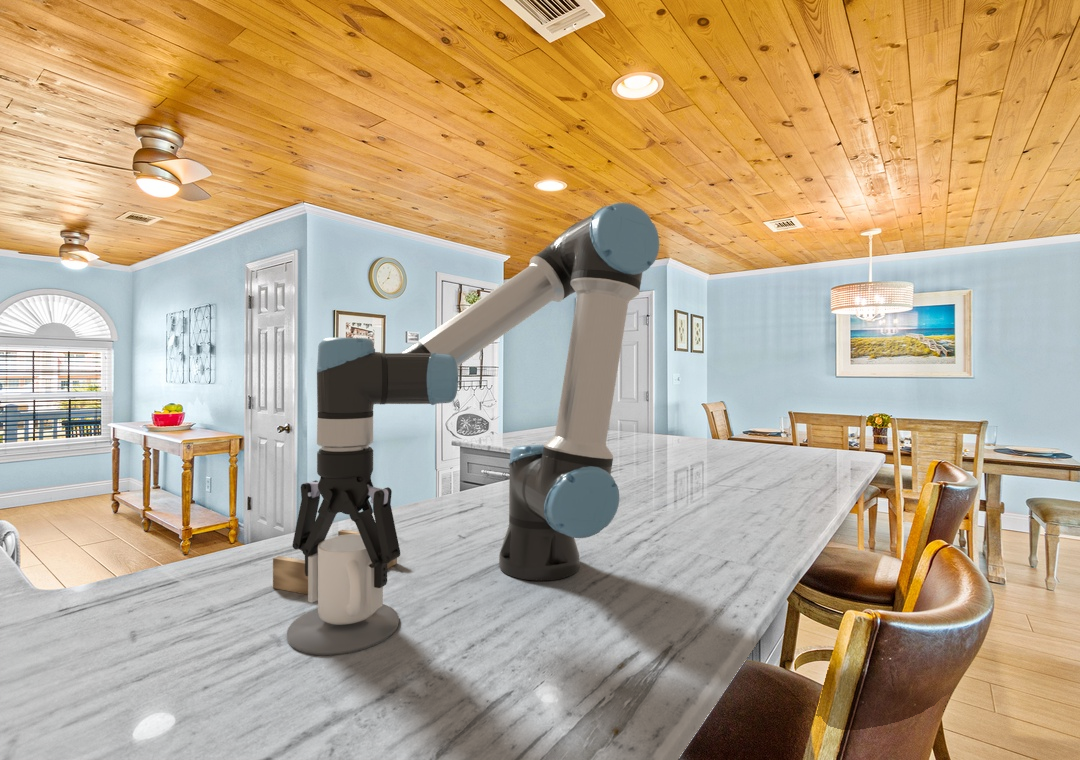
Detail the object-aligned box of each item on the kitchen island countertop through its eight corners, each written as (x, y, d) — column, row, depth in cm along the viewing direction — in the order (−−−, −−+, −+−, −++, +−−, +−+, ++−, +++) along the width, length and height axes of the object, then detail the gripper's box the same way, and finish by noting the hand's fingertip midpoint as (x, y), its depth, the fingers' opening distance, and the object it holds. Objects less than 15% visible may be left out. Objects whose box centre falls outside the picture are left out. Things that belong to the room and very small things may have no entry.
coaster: (418, 614, 83) (418, 610, 83) (354, 664, 69) (354, 659, 69) (336, 599, 88) (336, 595, 88) (261, 643, 74) (261, 638, 74)
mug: (386, 631, 75) (386, 555, 74) (321, 643, 71) (321, 564, 71) (373, 597, 85) (373, 531, 85) (316, 606, 82) (316, 537, 82)
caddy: (397, 563, 104) (397, 536, 104) (334, 599, 88) (335, 568, 88) (342, 554, 109) (342, 529, 108) (272, 588, 92) (273, 558, 92)
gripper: (427, 447, 78) (426, 604, 78) (302, 439, 85) (302, 583, 86) (397, 455, 71) (396, 628, 71) (263, 445, 78) (264, 602, 79)
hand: (345, 603), depth 79 cm, fingers closed on mug, 9 cm apart
